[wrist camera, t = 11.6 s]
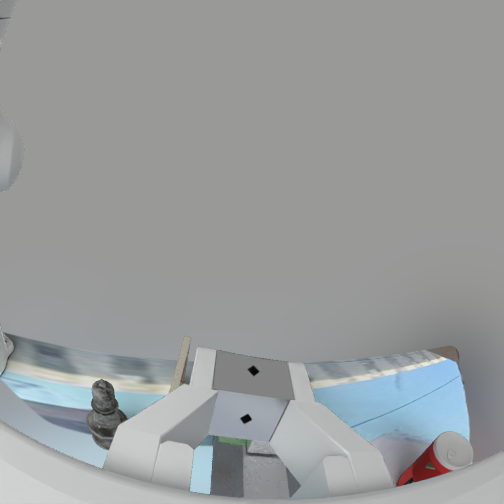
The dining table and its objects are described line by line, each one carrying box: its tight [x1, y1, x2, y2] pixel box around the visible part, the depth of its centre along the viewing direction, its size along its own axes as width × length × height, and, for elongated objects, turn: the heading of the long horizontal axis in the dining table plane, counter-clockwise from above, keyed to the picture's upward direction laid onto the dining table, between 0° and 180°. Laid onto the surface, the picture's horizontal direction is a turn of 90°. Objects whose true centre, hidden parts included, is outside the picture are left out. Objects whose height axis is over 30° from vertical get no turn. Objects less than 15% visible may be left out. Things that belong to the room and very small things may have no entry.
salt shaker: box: [87, 379, 128, 450], centre depth 30 cm, size 6×6×12 cm
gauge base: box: [169, 336, 301, 499], centre depth 36 cm, size 30×21×10 cm
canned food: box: [397, 431, 473, 487], centre depth 28 cm, size 8×8×11 cm
